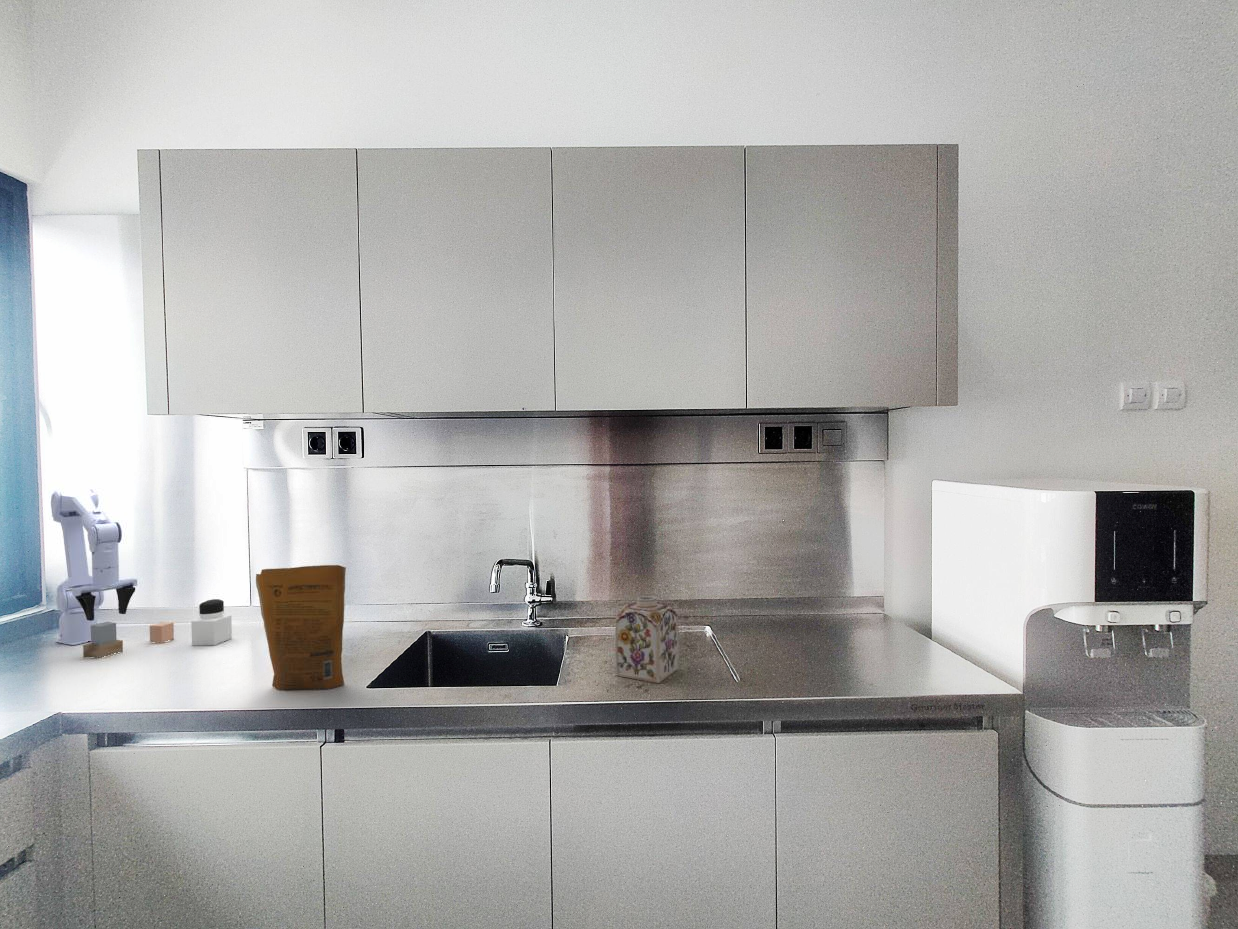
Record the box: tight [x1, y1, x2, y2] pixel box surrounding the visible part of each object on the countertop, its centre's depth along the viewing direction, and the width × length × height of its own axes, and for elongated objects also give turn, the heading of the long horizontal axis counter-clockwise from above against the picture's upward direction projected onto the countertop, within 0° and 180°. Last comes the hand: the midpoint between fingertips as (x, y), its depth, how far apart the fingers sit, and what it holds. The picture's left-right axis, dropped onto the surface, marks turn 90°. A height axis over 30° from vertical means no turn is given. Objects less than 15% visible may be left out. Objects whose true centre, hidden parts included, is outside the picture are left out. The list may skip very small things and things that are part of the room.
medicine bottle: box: [190, 598, 233, 646], centre depth 185 cm, size 7×7×12 cm
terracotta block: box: [149, 621, 175, 644], centre depth 187 cm, size 4×4×5 cm
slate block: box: [90, 621, 118, 645], centre depth 174 cm, size 4×4×5 cm
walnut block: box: [82, 639, 124, 659], centre depth 174 cm, size 6×6×4 cm
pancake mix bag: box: [255, 564, 347, 691], centre depth 146 cm, size 7×19×28 cm, turn 91°
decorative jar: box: [614, 595, 680, 684], centre depth 153 cm, size 12×12×18 cm
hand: (106, 616), depth 176 cm, fingers open, 7 cm apart
